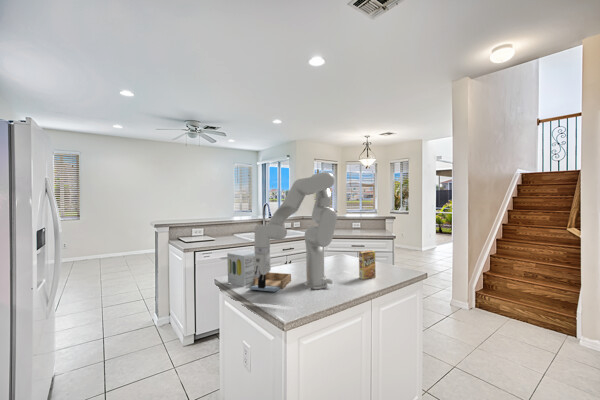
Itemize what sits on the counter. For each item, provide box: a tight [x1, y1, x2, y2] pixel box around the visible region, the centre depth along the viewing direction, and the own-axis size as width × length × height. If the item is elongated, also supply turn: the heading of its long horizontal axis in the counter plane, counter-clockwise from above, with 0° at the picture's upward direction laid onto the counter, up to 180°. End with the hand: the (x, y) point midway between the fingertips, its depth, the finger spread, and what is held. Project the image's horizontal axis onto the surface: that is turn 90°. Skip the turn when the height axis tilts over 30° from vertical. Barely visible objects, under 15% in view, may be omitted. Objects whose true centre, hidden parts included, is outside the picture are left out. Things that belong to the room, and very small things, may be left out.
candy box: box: [358, 250, 377, 280], centre depth 161 cm, size 9×4×15 cm, turn 113°
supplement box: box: [226, 248, 256, 288], centre depth 153 cm, size 13×13×18 cm
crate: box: [253, 271, 292, 290], centre depth 149 cm, size 16×14×5 cm
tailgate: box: [249, 285, 282, 292], centre depth 139 cm, size 13×2×8 cm
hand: (261, 287), depth 136 cm, fingers closed
